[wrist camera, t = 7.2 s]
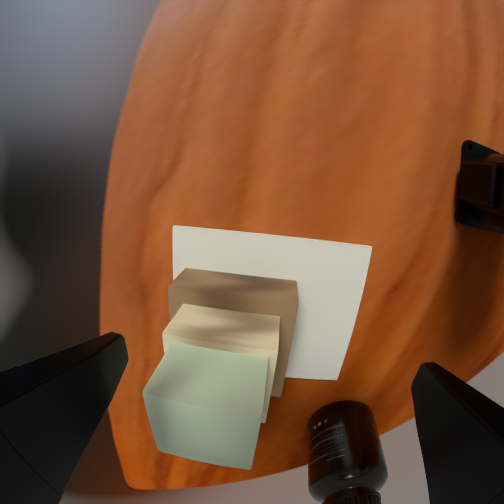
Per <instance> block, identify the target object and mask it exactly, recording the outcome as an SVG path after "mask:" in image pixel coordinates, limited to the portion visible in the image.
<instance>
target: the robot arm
mask: <svg viewBox="0 0 504 504" xmlns="http://www.w3.org/2000/svg"><path fill="white" fill-rule="evenodd" d="M468 144H469V147H470V148H468ZM461 215H462V219H461V220H460V216H461ZM455 219H456V221H457V222H458V223H460V224H463V225H468V226H472V227H476V228H481V229H485V230H489V231H493V232H497V233H501V234H504V154H500V153H498V152H496V151H494V150H492V149H490V148H487V147H485V146H483V145H480V144H478V143H476V142H473V141H471V140H465V141H464V142H463V150H462V164H461V173H460V183H459V191H458V201H457V208H456V214H455ZM127 363H128V352H127V347H126V343H125V339H124V337H123V335H121V334H118V333H114V332H110V333H107V334H104V335H102V336H99V337H96V338H94V339H91V340H89V341H86V342H83V343H80V344H78V345H75V346H72V347H69V348H67V349H64V350H61V351H59V352H56V353H53V354H50V355H47V356H45V357H42V358H39V359H36V360H33V361H30V362H28V363H25V364H22V365H20V366H16V367H13V368H10V369H7V370H4V371H1V372H0V504H59V502H60V500H61V498H62V495H63V493H64V491H65V489H66V487H67V485H68V483H69V481H70V479H71V476H72V475H73V473H74V471H75V469H76V467H77V465H78V463H79V461H80V459H81V457H82V455H83V453H84V451H85V449H86V447H87V445H88V443H89V441H90V439H91V437H92V435H93V434H94V432H95V430H96V428H97V426H98V424H99V422H100V421H101V419H102V417H103V415H104V413H105V411H106V410H107V408H108V406H109V404H110V402H111V400H112V398H113V396H114V394H115V391H116V389H117V386H118V384H119V382H120V379H121V377H122V375H123V372H124V370H125V368H126V365H127ZM411 390H412V397H413V404H414V411H415V418H416V426H417V432H418V437H419V441H420V446H421V451H422V455H423V461H424V467H425V473H426V479H427V485H428V492H429V500H430V504H504V408H503V407H501V406H500V405H498V404H497V403H495V402H494V401H492V400H491V399H489V398H488V397H486V396H485V395H483V394H482V393H480V392H479V391H477V390H476V389H474V388H473V387H471V386H470V385H468V384H467V383H465V382H464V381H462V380H461V379H459V378H458V377H456V376H455V375H453V374H452V373H450V372H449V371H447V370H446V369H444V368H443V367H441V366H440V365H438V364H437V363H435V362H424V363H422V364H421V365H420V367H419V369H418V371H417V374H416V376H415V378H414V380H413V382H412V387H411Z"/></svg>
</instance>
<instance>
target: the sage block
mask: <svg viewBox="0 0 504 504" xmlns="http://www.w3.org/2000/svg"><path fill="white" fill-rule="evenodd" d="M267 366H268V357H264V356H256V355H249V354H241V353H234V352H228V351H222V350H215V349H210V348H204V347H198V346H193V345H188V344H183V343H178V342H172V343H171V345H170V347H169V348H168V350H167V351H166V353H165V355H164V356H163V358H162V360H161V361H160V363H159V365H158V366H157V368H156V370H155V371H154V373H153V375H152V376H151V378H150V380H149V381H148V383H147V385H146V386H145V388H144V390H143V391H142V394H143V398H144V402H145V406H146V410H147V414H148V418H149V422H150V425H151V429H152V432H153V436H154V439H155V443H156V446H157V449H158V451H161V452H164V453H168V454H171V455H175V456H179V457H183V458H187V459H191V460H196V461H200V462H205V463H210V464H215V465H221V466H227V467H233V468H240V469H247V470H251V468H252V463H253V458H254V454H255V449H256V444H257V439H258V434H259V429H260V424H261V419H262V412H263V403H264V394H265V385H266V375H267Z"/></svg>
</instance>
